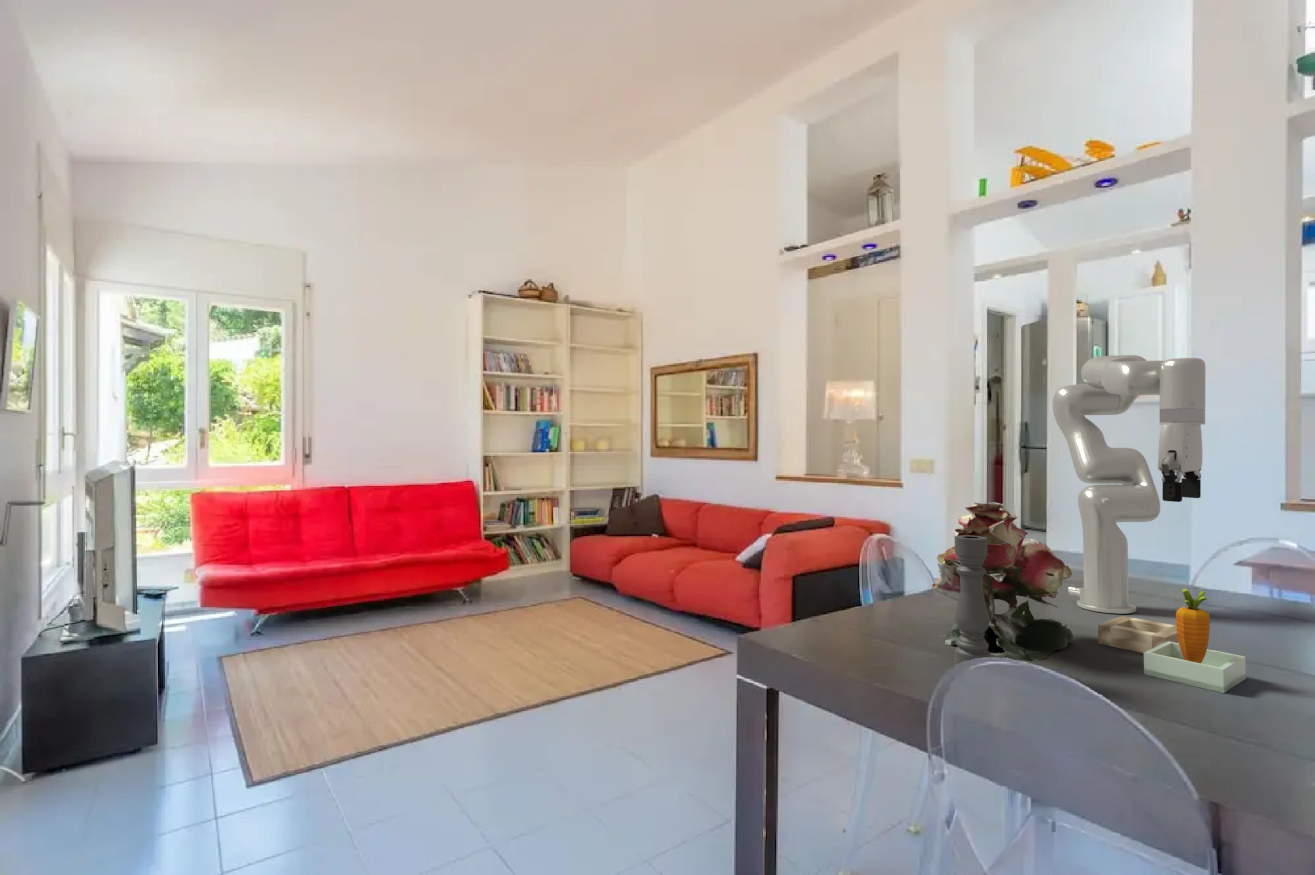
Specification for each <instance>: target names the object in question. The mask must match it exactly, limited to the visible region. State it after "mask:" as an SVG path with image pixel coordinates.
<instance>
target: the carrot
mask: <svg viewBox="0 0 1315 875" xmlns="http://www.w3.org/2000/svg"><path fill="white" fill-rule="evenodd" d="M1181 591H1182V594H1183V599H1184V603H1185V604H1186V605H1187V606H1182V607H1180V608H1178V609H1177V610H1176V612H1175V625H1176V628H1177V637H1178V641H1179V645H1180V649H1181V653H1182V655H1183V657H1184V659H1185V660H1187V661H1191V662H1196V663H1202V661H1203V659H1204V657H1205V654H1206V650H1207V649H1208V646H1209V640H1210V628H1211V627H1210V626H1211V625H1210V623H1211V622H1210V614H1209V612H1208V611H1206V610H1204V609H1202V608H1199V606H1200V605H1201V604H1202V603H1203V602H1204V601H1207V597H1206V596H1205V594H1206V592H1205V591H1204V590H1200V592H1199V593H1198V594H1197V597H1196V598H1193V596H1192V594H1191V593H1190V591H1189V590H1188V589H1187V588H1183V589H1182V590H1181Z"/></svg>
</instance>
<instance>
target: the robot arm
mask: <svg viewBox="0 0 1315 875" xmlns="http://www.w3.org/2000/svg"><path fill="white" fill-rule="evenodd" d="M1080 375H1081V376H1080V377H1081V379H1082V381H1083V382H1084V383H1079V384H1071V385H1066V386H1063V387H1060V388H1059V389H1057V391H1055V393H1054V394H1053V398H1052V413H1053V416H1054V420H1055V422H1056V424H1057V426H1058V427H1059V429H1060V431H1061V433H1062V435H1063V436H1064V438H1065V440H1066V442H1067V447H1068V450H1069V453H1070V457H1071V460H1072V465H1073V467H1074V471H1075V473H1076V476H1077V477H1078V479H1079V480H1080V481H1081V482H1083V483H1086V484H1091V485H1089V486H1086V487H1084V488H1083V489H1082V490H1080V491H1079V494H1078V496H1077V504H1078V510H1079V514H1080V519H1081V524H1082V526H1081V527H1082V546H1083V547H1082V550H1083V552H1082V553H1083V554H1082V555H1083V558H1082V559H1083V586H1082V587H1077V586H1076V587H1075V586H1068V588H1067V594H1068V595H1070V596H1077V597H1078V598H1079V599H1077V600H1076V604H1077V606H1078V607H1079V608H1082V609H1084V610H1088V611H1091V612H1092V611H1093V612H1097V613H1098V612H1099V613H1105V614H1116V615H1118V614H1119V615H1120V614H1125V615H1126V614H1133V613H1136V612H1137V606H1136V605H1135V604H1134V603H1132V602H1131V603H1130V602H1129V601H1130V600H1129V552H1128V551H1129V547H1128V546H1129V545H1128V544H1129V543H1128V538H1127V536H1126V535H1125V533H1124V532H1123V531H1122V530H1121V529H1120V527H1119V526H1118V525H1117V523H1147V522H1148V523H1149V522H1152V521H1154V520H1156V519H1157V518H1158V517H1159V515H1160V512H1161V501H1160V497H1159V493H1158V490H1157V487H1156V485H1155V482H1154V479H1153V476H1152V473H1151V470H1150V467H1149V464H1148V462H1147V460H1146V458H1145V456H1144V455H1143V453H1141V452H1140V451H1139V450H1137V449H1135V448H1130V447H1111V446H1108V445H1107V442H1106V440H1105V436H1104V433H1103V432H1102V430H1101V429H1100V428H1099V427H1098V426H1097V425H1096V424H1095V423H1094V422H1092V420H1089V419H1088V418H1087V417H1086V416H1113V415H1114V416H1115V415H1120V414H1123V413H1126V412H1127V411H1128V410H1129V409H1130V407H1132V405H1133V404H1134V402H1135V401H1136V399H1137V398H1138V397H1139V396H1152V395H1153V396H1155V395H1156V396H1157V395H1158V396H1159V425H1161V427H1160V433H1159V440H1158V452H1157V455H1158V456H1157V470H1159V472H1161V474H1162V477H1161V482H1162V500H1163V501H1164V502H1172V503H1173V502H1176V503H1181V502H1182V501H1183V498H1187V499H1188V498H1189V499H1200V498H1201V496H1202V495H1201V494H1202V493H1201V492H1202V491H1201V489H1202V488H1201V487H1202V486H1201V478H1202V473H1201V471H1202V466H1203V439H1202V426H1201V425H1206V362H1205V361H1204V360H1203V359H1202V358H1198V357H1181V358H1180V357H1179V358H1169V359H1165V360H1147V359H1146V358H1144V357H1142V356H1140V355H1137V354H1127V355H1126V354H1125V355H1124V354H1122V355H1100V356H1099V355H1098V356H1095V357H1093V358H1090V359H1088V360H1087V361H1086V362H1084V364H1083V365H1082V367H1081V370H1080ZM1092 484H1093V485H1092Z"/></svg>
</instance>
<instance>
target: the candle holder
mask: <svg viewBox="0 0 1315 875" xmlns="http://www.w3.org/2000/svg"><path fill="white" fill-rule="evenodd" d="M954 545H955V554H956V555H957V556H956V557H957V559H958V561H959V563H960V566H958V567H957V569H956V571H957V572H958V573H959V575H960V586H961V591H960V596H959V600H958V601H957V604H956V609H955V614H954V622H955V623H954V624H956V625H957V627H958V628H959V629H960V631H959V632H960V633H961V635H960V637H959V639H957V641H956V646H957V647H955V649H954V666H955V665H956V664H958V663H960V662H962V661H964V660H971V659H975V658H982V657H990V658H991V654H990V653H991V651H990V650H989V651H988V650H987V649H989V647H990V645H989V644H988V643H987V642H986V640H985V638H983V636H984V635H985V631H986V630H987V628H988V627H989V623H990V618H989V615H988V611H987V607H986V603H985V599H984V595H983V582H982V577H983V575H985V574H986V569H985V568H983V567H982V565H983V563H984V561H985V559H986V556H987V538H986V537H982V536H970V535H961V536H955V535H954Z"/></svg>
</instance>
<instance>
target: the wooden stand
mask: <svg viewBox="0 0 1315 875" xmlns="http://www.w3.org/2000/svg"><path fill="white" fill-rule="evenodd" d="M1097 631H1098V636H1097V638H1098V639H1097V640H1098V644H1100V645H1103V646H1104V645H1105V646H1108V647H1109V646H1110V647H1114V648H1118V649H1123V650H1128V651H1132V652H1136V653H1140V654H1144V652H1146V651H1148V650H1150V649H1152V648H1155V647H1157V646H1159V645H1161V644H1163V643H1166V642H1168V641H1169V642H1174V643H1179V641H1178V637H1177V628H1176V624H1170V623H1166V622H1165V623H1163V622H1159V621H1155V620H1154V621H1153V620H1147V619H1142V618H1136V617H1131V616H1125V615H1121V616H1118V617H1115V618H1112V619H1110V620H1107V621H1104V622H1101V623H1099V624H1097Z"/></svg>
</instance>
